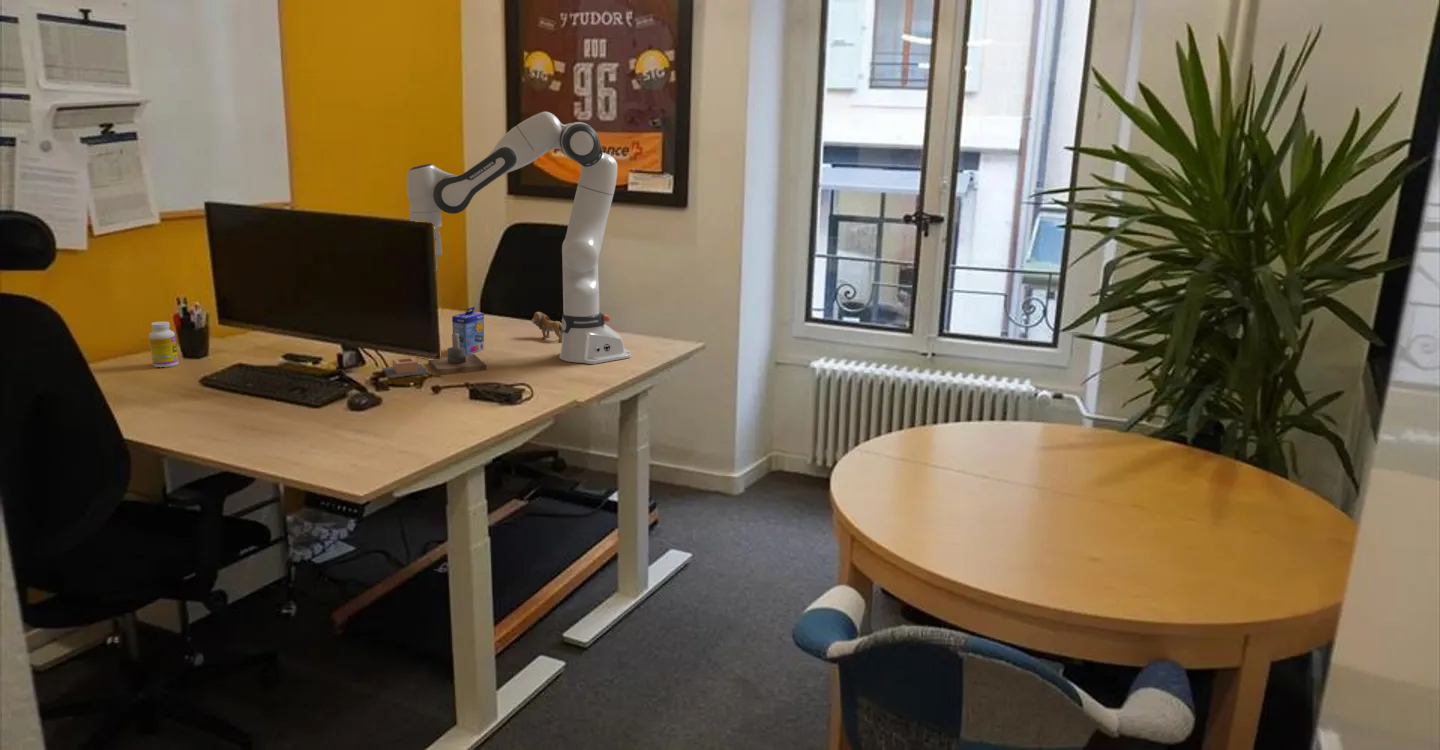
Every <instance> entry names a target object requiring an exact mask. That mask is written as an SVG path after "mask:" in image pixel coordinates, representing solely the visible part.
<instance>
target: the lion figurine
mask: <svg viewBox="0 0 1440 750" xmlns="http://www.w3.org/2000/svg"><path fill="white" fill-rule="evenodd" d="M531 322H532V324H533V325H535V326H536V327H537V328H538V329H539V330H541V333H542V337H541V338H540V339H541V340H546V338H549V337H550V332H554V333H555V335H556V336H557V337H558V341H557V342H558V343H561V344H562V342H563V329H562V321H561V322H560V320H559V321H558V320H555V321H554V320H552V319H550V317H549V316H548V315H546V314H545V313H544V312H541V311H536V312H534V315H533V317H532V319H531Z"/></svg>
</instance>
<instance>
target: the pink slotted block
mask: <svg viewBox="0 0 1440 750" xmlns="http://www.w3.org/2000/svg"><path fill="white" fill-rule="evenodd" d="M418 364H419V361H418V360H417V359H416V358H415V357H414V356H412V357H402V358H400V357H399V358H392V365H393V366H392V367H393V369H394V370H395V372H396V373H397V374H401V373H411V372H418Z"/></svg>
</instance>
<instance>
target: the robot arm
mask: <svg viewBox="0 0 1440 750" xmlns="http://www.w3.org/2000/svg"><path fill="white" fill-rule="evenodd" d="M553 150H560V151H561V152H562V153H563V154H564V155H565V156H566V157H567V158H569V159H571V160H572V161H574V162H577V163H578V164H579V165H580V175H579V179H578V182H577V187H576V190H575V196H574V199H573V203H572V207H571V211H570V217H569V220H568V225H567V230H566V233H565V238H564V240H563V242H562V245H561V256H562V259H561V260H562V262H561V263H562V295H563V296H562V299H563V301H562V302H563V305H562V307H563V309H562V310H563V313H562V315H561V323H562V329H563V334H562V335H563V339H562V342H561V349H560V353H559V360H562V361H564V362H568V363H569V362H570V363H582V364H588V365H594V364H595V365H596V364H600V363H601V364H602V363H607V362H612V361H617V360H624V359H629V358H631V357H632V353H631V351H630V350H629V349H627V348H625V346H624V345H625V344H624V341H623V337H622V336H621V335H620V334H619V333H618V332H617V331H615V330H614V329H613V328H611V327H610V326H609V325H607V324H606V323H608V322H610V321H611V316H609V315H608V314H604V313H602V312H600V285H599V284H600V283H599V258H600V255H601V250H602V244H603V241H604V236H605V232H606V227H607V222H608V217H609V214H610V211H611V207H612V206H611V205H612V203H613V200H614V199H613V198H614V195H615V190H616V185H617V179H618V178H617V177H618V168H619V167H618V162H617V161H616V159H615V158H614V156H612V155H610V154H608V153H605V152H603V148H602V145H601V141H600V137H599V135H598V133H597V132H596V130H595V129H594V128H593V127H592V126H591V125H589V124H587V123H586V122H581V121H575V122H565V123H562V122H561V121H560V120H559V118H558V117H557V116H556V115H555V114H553V113H551V112H549V111H542V112H538V113H536V114H534V115H532V116H530V117H528V118H526V119H525V120H523V121H521V122H519V123H518V124H517V125H515V126H514V127H512V128H511V129H510V130H508V131H507V132H506V133H505V134H504V135H503V136H502V137H501V138H500V139H499V141H498V142H497V143H496V145H495V146H494V148H493V149H492V150H491V152H490V153H489V154H487V156H486V157H485V158H483V159H482V160H481V161H479V162H478V163H476V164H475V165H473V166H472V167H471V168H469V169H468V170H466V171H465V172H464V173H461V174H459V175H457V174H454V173H450V172H447V171H445V170H442V169H440V168H438V167H437V166H435V165H434V164H432V163H427V164H425V163H424V164H420V165H415V166H412V167H411V168H410V169H409V170H408V171H407V174H406V193H407V194H406V195H407V199H408V201H409V209H408V214H409V218H408V222H409V221H415V222H427V223H432V224H433V227H434V239H435V255H436V270H435V271H438V260H439V257H441V256H443V246H442V237H441V232H440V230H439V228H441V227H442V226H443V223H442V213H441V211H442V212H444V213H446V214H451V215H452V214H453V215H455V214H458V213H462V212H463V211H464V210H466V208H467V207H468V206H469V205H470V202H471V201H472V199H473V197H474V196H475V195H476V194H477V193H478V192H480V191H482V189H484V188H486V186H488V185H490V184H491V183H492V182H494V181H495V180H496V179H498V178H499V177H502V176H503V175H506V174H507V173H512V172H514V171H516V170H519V169H521V168H524V167H525V166H527V165H530V164H531V163H533V162H535V161H536V160H538V159H539V158H541V157H542V156H544V155H545V154H547V153H548V152H550V151H553Z"/></svg>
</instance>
